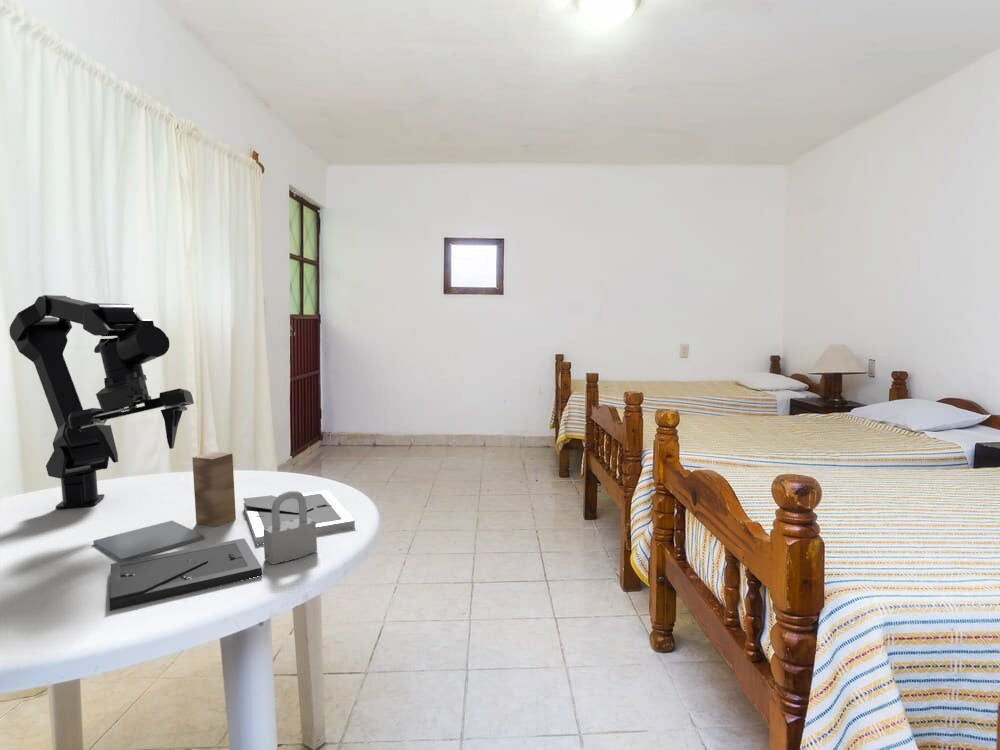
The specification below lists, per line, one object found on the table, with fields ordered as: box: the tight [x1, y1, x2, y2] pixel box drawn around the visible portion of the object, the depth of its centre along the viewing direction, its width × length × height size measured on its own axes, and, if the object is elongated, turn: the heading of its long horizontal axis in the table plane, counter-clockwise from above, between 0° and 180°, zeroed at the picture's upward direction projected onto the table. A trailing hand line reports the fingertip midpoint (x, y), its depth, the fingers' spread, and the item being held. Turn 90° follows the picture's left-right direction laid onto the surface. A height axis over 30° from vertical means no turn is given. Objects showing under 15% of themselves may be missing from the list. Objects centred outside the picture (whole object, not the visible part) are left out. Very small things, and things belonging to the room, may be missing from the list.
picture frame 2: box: [242, 489, 356, 545], centre depth 107 cm, size 16×3×21 cm
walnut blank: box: [192, 451, 237, 528], centre depth 105 cm, size 4×4×12 cm
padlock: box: [263, 490, 318, 565], centre depth 89 cm, size 7×4×10 cm, turn 134°
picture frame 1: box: [108, 537, 263, 612], centre depth 83 cm, size 13×2×18 cm
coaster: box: [92, 520, 205, 562], centre depth 96 cm, size 12×12×1 cm
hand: (144, 455), depth 106 cm, fingers open, 9 cm apart
